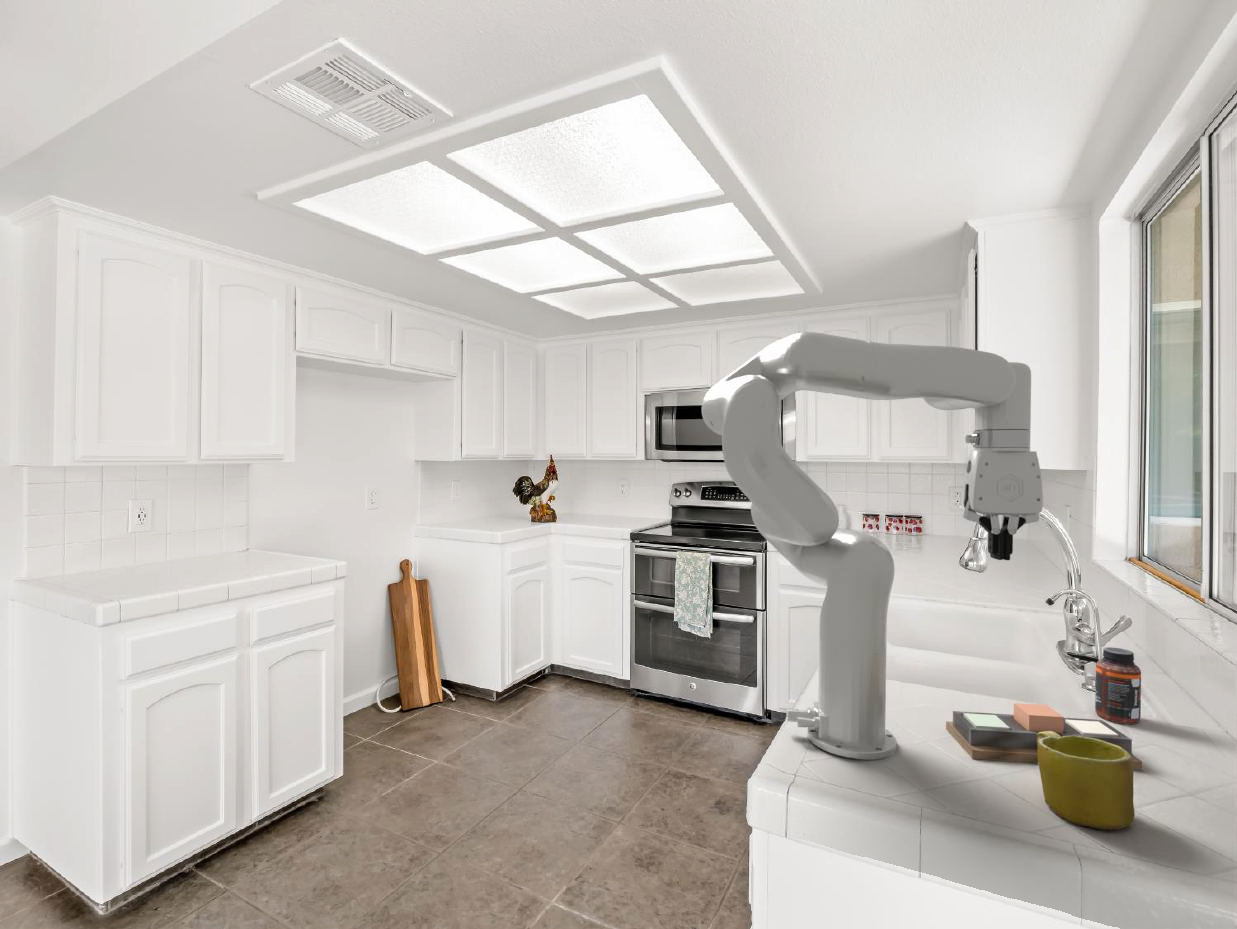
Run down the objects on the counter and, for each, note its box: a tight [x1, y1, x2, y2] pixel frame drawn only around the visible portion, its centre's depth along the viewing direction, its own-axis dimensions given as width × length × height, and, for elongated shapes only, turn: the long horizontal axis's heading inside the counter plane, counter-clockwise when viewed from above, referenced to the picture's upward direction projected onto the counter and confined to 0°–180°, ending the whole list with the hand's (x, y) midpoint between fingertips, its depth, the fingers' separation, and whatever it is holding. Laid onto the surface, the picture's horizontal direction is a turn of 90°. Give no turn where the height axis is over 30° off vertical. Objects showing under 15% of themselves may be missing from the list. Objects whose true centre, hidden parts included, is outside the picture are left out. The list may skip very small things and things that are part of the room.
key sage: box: [963, 713, 1010, 730], centre depth 95 cm, size 5×5×2 cm
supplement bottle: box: [1094, 646, 1142, 725], centre depth 105 cm, size 6×6×11 cm
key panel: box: [945, 710, 1143, 771], centre depth 94 cm, size 22×10×4 cm, turn 82°
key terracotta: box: [1013, 702, 1065, 733], centre depth 94 cm, size 5×5×2 cm
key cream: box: [1065, 720, 1118, 737], centre depth 93 cm, size 5×5×2 cm
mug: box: [1037, 731, 1135, 830], centre depth 78 cm, size 12×10×10 cm
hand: (1000, 558), depth 100 cm, fingers closed
